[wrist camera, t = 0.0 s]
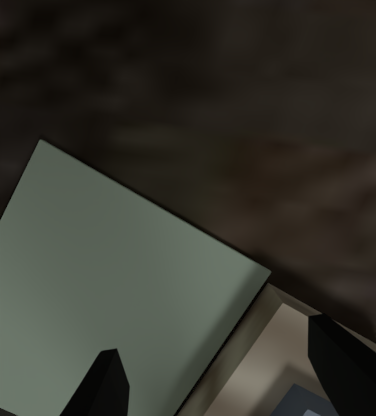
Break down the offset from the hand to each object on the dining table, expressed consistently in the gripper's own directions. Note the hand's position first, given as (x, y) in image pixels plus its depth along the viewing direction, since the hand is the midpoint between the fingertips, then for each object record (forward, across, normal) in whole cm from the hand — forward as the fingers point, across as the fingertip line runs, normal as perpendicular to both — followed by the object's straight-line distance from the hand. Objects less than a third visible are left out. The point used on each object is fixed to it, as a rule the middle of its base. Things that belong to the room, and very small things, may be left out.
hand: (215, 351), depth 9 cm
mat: (+10, +9, +6) cm, 15 cm away
